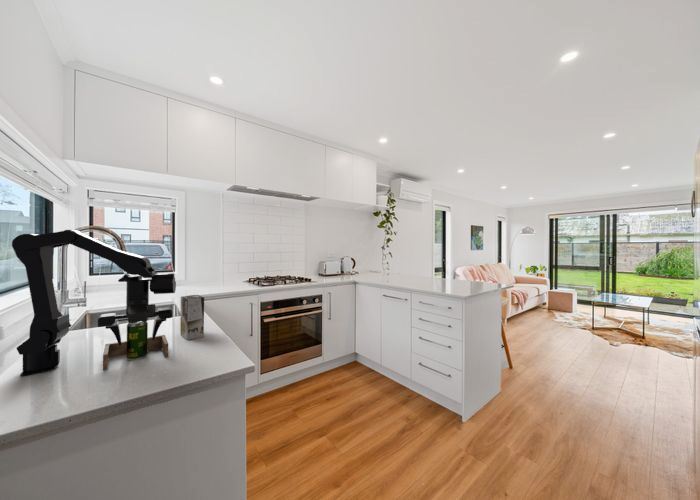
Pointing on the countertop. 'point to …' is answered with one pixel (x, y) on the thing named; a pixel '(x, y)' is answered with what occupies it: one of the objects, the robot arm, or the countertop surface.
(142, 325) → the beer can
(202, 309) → the coffee box
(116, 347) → the wooden u-shaped frame
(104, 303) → the countertop surface
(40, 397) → the countertop surface
